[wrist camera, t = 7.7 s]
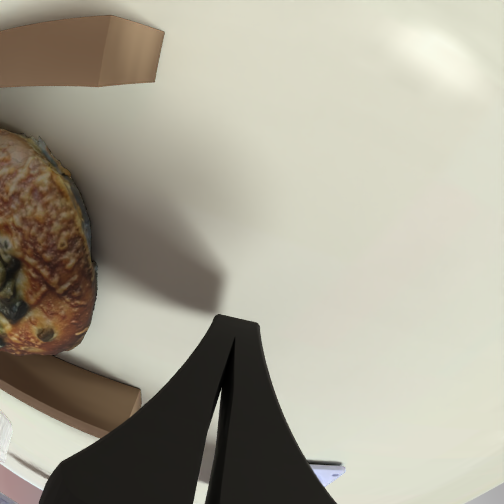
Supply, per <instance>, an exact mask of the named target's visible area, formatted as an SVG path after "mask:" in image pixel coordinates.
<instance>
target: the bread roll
mask: <svg viewBox="0 0 504 504" xmlns="http://www.w3.org/2000/svg"><path fill="white" fill-rule="evenodd" d="M70 177H71V174H70V172H69V171H68V170H67V169H65V168H63V167H62V166H61V163H60V161H59V160H56V159H55V157H54V156H53V155H52V154H51V151H50V150H49V149H48V148H47V146H46V144H45V143H44V141H43V140H41V138H40V136H39V142H37V141H36V140H35V139H34V138H33V137H32V136H31V137H28V138H27V137H26V136H25V134H24V133H23V134H17V133H12V132H10V131H7V130H5V129H0V351H5V352H8V353H11V354H13V355H16V356H24V355H31V354H33V355H36V354H40V355H43V356H45V355H56V354H58V353H60V352H62V351H69V350H72V349H73V348H75V347H76V346H77V345H79V344H80V343H81V342H82V340H83V338H84V335H85V334H86V332H87V330H88V328H89V326H90V324H91V320H92V315H93V310H94V306H95V304H94V303H95V301H96V299H97V298H96V296H97V290H98V289H97V272H96V271H97V267H98V266H97V264H96V262H94V261H93V263H92V262H91V254H90V249H91V241H90V239H91V238H92V237H91V229H90V227H91V225H90V220H89V218H88V214H87V213H86V207H85V206H84V201H82V197H81V196H80V195H81V193H80V192H79V190H78V188H77V187H76V186H75V183H73V179H72V178H70Z"/></svg>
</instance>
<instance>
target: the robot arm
mask: <svg viewBox="0 0 504 504" xmlns="http://www.w3.org/2000/svg"><path fill="white" fill-rule="evenodd" d="M221 388H222V390H221ZM220 391H221V400H220V410H219V420H218V431H217V441H216V449H215V456H214V461H213V466H212V471H211V476H210V481H209V486H208V491H207V496H206V501H205V504H337V503H336V502H335V501H334V499H333V498H332V497H331V496H330V494H329V493H328V492H327V490H326V489H325V487H326V486H327V485H328V484H330V483H331V482H333V481H334V480H335V479H337V478H338V477H340V476H341V475H342V474H344V473H345V472H346V469H345V467H344V466H331V465H314V464H309V463H308V461H307V460H306V458H305V457H304V455H303V453H302V452H301V450H300V448H299V446H298V444H297V442H296V440H295V438H294V436H293V434H292V432H291V430H290V428H289V426H288V424H287V422H286V419H285V417H284V415H283V412H282V410H281V407H280V405H279V402H278V399H277V397H276V394H275V391H274V388H273V385H272V382H271V378H270V375H269V372H268V368H267V364H266V361H265V356H264V352H263V347H262V341H261V334H260V326H259V324H258V323H256V322H252V321H247V320H243V319H238V318H234V317H229V316H225V315H221V314H218V315H216V316H215V317H214V319H213V322H212V324H211V326H210V327H209V329H208V331H207V333H206V334H205V336H204V337H203V339H202V340H201V342H200V343H199V345H198V346H197V347H196V349H195V350H194V351H193V353H192V354H191V355H190V357H189V358H188V359H187V361H186V362H185V363H184V364H183V365H182V367H181V368H180V369H179V370H178V371H177V372H176V374H175V375H174V376H173V377H172V378H171V379H170V380H169V381H168V383H167V384H166V385H165V386H164V387H163V388H162V389H161V390H160V391H159V392H158V393H157V394H156V395H155V396H154V397H153V398H151V399H150V400H149V401H148V402H147V403H146V404H145V405H144V406H143V407H141V408H140V409H139V410H138V411H137V412H136V413H134V414H133V415H132V416H131V417H130V418H128V419H127V420H126V421H125V422H123V423H122V424H121V425H119V426H118V427H117V428H115V429H114V430H112V431H111V432H109V433H108V434H107V435H105V436H104V437H102V438H101V439H99V440H98V441H96V442H95V443H93V444H92V445H90V446H88V447H87V448H85V449H83V450H81V451H80V452H78V453H76V454H74V455H72V456H71V457H69V458H67V459H65V460H63V461H62V462H61V463H60V464H59V465H58V466H57V467H56V469H55V470H54V471H53V473H52V474H51V476H50V478H49V479H48V481H47V483H46V485H45V487H44V490H43V493H42V495H41V498H40V501H39V504H193V501H194V496H195V491H196V486H197V481H198V476H199V471H200V466H201V461H202V456H203V451H204V446H205V441H206V436H207V432H208V429H209V426H210V422H211V419H212V416H213V413H214V410H215V407H216V404H217V400H218V397H219V394H220ZM0 504H18V503H16V502H15V501H13V500H12V499H10V498H9V497H7V496H6V495H4V494H3V493H1V492H0Z"/></svg>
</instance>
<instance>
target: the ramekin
mask: <svg viewBox="0 0 504 504" xmlns="http://www.w3.org/2000/svg"><path fill="white" fill-rule="evenodd" d="M12 433H13V429H12V424H11V422H10V420H9V419H8V418H7V416H6V415H5V414H4V413H3V412H2V411H1V410H0V462H2V463H4V462H5V461H6V459H7V456H6V454H7V450H8V447H9V444H10V440H11V437H12Z"/></svg>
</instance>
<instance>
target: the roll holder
mask: <svg viewBox="0 0 504 504" xmlns="http://www.w3.org/2000/svg"><path fill="white" fill-rule="evenodd" d="M164 34H165V32H163V31H160V30H157V29H154V28H151V27H148V26H145V25H142V24H139V23H136V22H133V21H130V20H126V19H123V18H120V17H116V16H113V15H105V16H90V17H79V18H70V19H62V20H54V21H48V22H42V23H36V24H30V25H25V26H20V27H16V28H11V29H7V30H3V31H0V88H3V87H21V86H86V87H103V86H112V85H122V84H135V83H150V82H155V77H156V72H157V67H158V62H159V57H160V52H161V47H162V43H163V38H164ZM0 389H2V390H3V391H5V392H7V393H8V394H10V395H12V396H13V397H15V398H17V399H19V400H20V401H22V402H24V403H26V404H27V405H29V406H31V407H33V408H35V409H37V410H39V411H41V412H43V413H44V414H46V415H48V416H50V417H52V418H55V419H57V420H59V421H61V422H63V423H65V424H67V425H69V426H72V427H74V428H76V429H78V430H81V431H83V432H85V433H88V434H90V435H93V436H95V437H98V438H100V439H101V438H102V437H104V436H105V435H107V434H108V433H109V432H111V431H112V430H114V429H115V428H117V427H118V426H119V425H121V424H122V423H123V422H125V421H126V420H127V419H128V418H130V417H131V416H132V415H133V414H134V413H136V412H137V411H138V410H139V409H140V407H141V404H142V402H141V390H140V389H137V388H134V387H131V386H128V385H125V384H122V383H120V382H117V381H114V380H111V379H108V378H106V377H103V376H100V375H97V374H95V373H92V372H90V371H87V370H85V369H82V368H80V367H77V366H75V365H72V364H70V363H68V362H65V361H63V360H61V359H58V358H56V357H54V356H52V355H45V356H43V355H40V354H36V355H33V354H31V355H24V356H16V355H13V354H11V353H8V352H5V351H0Z"/></svg>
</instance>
